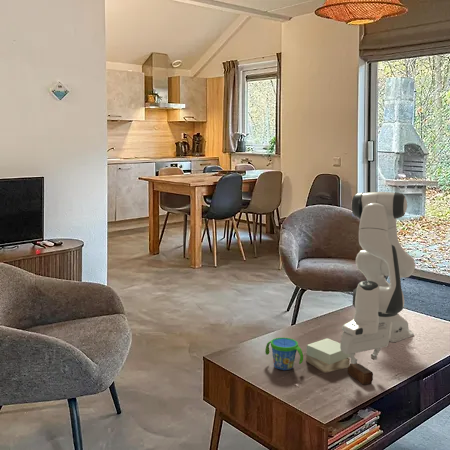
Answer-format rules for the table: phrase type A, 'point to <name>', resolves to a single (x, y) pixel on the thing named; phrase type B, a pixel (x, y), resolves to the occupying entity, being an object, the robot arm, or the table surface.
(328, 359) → the upper slab
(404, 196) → the robot arm
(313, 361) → the lower slab
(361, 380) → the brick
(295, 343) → the snack cup
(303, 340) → the table surface
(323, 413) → the table surface
